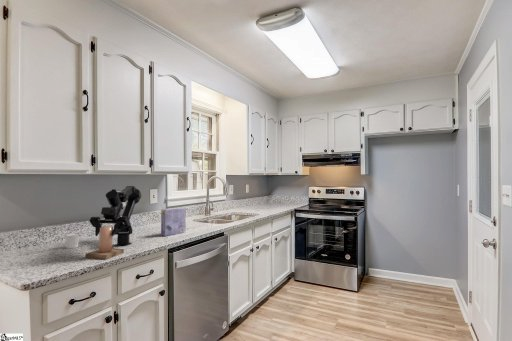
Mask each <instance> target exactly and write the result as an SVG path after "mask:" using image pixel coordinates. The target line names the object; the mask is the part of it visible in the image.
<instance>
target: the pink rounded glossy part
mask: <svg viewBox="0 0 512 341" xmlns="http://www.w3.org/2000/svg"><path fill="white" fill-rule="evenodd" d="M113 230H114V225H113V226H112V225H104V226H103V225H102V227H100V232H99V234H98V235H99V237H98V250H99V252H102V253H104V252H111V251H112V248H113V239H114V238H113V237H114V236H112V232H113Z"/></svg>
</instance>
